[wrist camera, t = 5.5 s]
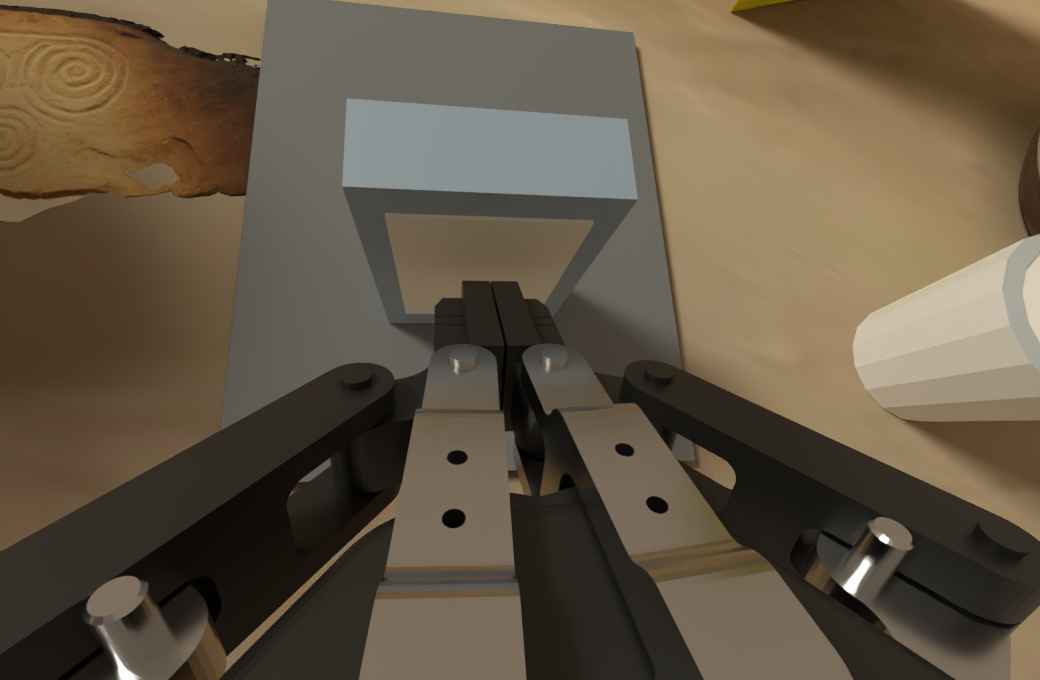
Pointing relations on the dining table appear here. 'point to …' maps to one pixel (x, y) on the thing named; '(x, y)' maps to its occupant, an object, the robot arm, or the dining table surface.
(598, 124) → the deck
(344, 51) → the mat
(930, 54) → the dining table surface
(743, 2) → the food package
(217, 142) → the parchment
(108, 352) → the dining table surface
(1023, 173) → the saucer
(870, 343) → the white tapered cup
